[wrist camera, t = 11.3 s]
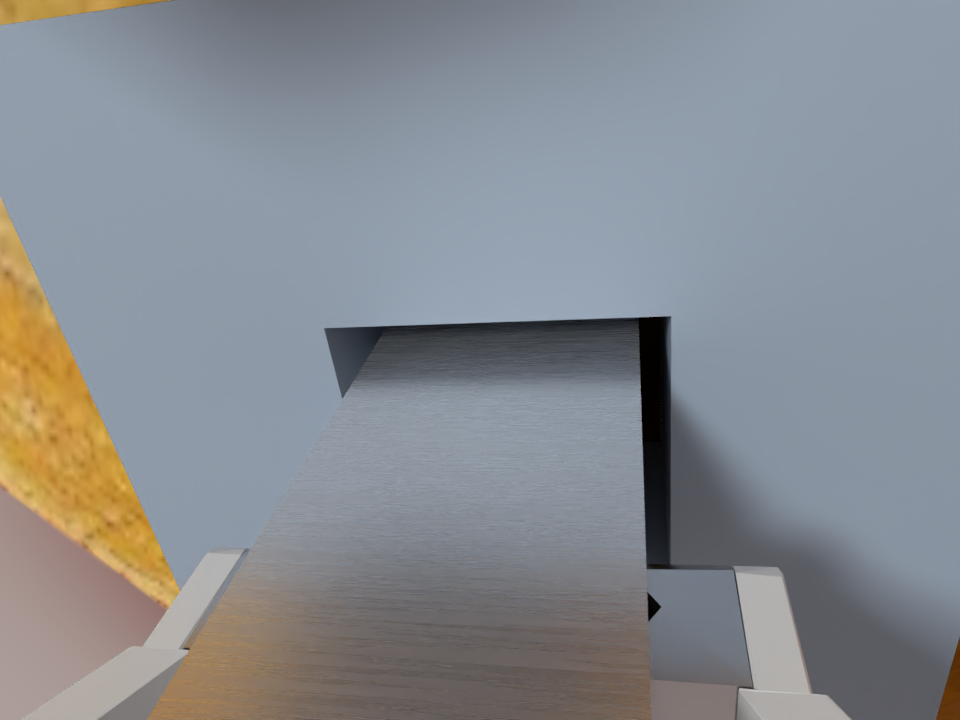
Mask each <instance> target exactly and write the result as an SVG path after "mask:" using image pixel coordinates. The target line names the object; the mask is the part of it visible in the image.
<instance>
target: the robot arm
mask: <svg viewBox="0 0 960 720" xmlns="http://www.w3.org/2000/svg"><path fill="white" fill-rule="evenodd" d="M250 550H251V549H248V548H232V547H216V548H214V549H213V550H211V551H210V552H208V553H207V554H206V555H205V556H204V558H203V559H202V560H201V562H200V563H199V565H198V566H197V568H196V569H195V571H194V572H193V574H192V575H191V576H190V578H189V579H188V581H187V582H186V584H185V585H184V587H183V588H182V590H181V591H180V592H179V594H178V595H177V597H176V598H175V600H174V601H173V603H172V604H171V606H170V607H169V609H168V610H167V611H166V613H165V614H164V616H163V617H162V619H161V620H160V622H159V623H158V625H157V626H156V627H155V629H154V630H153V632H152V633H151V635H150V636H149V638H148V639H147V641H146V642H145V644H144V645H143V646H131V647H130V648H128V649H127V650H125V651H123V652H122V653H120V654H119V655H117V656H116V657H115V658H113V659H111V660H110V661H108V662H107V663H105V664H104V665H102V666H101V667H99V668H98V669H96V670H95V671H93V672H92V673H90V674H89V675H87V676H86V677H84V678H83V679H81V680H80V681H79V682H77V683H75V684H74V685H72V686H71V687H69V688H68V689H66V690H64V691H63V692H61V693H60V694H59V695H57V696H55V697H54V698H52V699H51V700H49V701H48V702H46V703H45V704H43V705H42V706H40V707H39V708H37V709H36V710H34V711H33V712H31V713H30V714H28V715H27V716H25V717H24V718H22V719H21V720H147V719H148V717H149V715H150V714H151V712H152V710H153V709H154V707H155V705H156V704H157V702H158V700H159V699H160V697H161V696H162V694H163V692H164V691H165V689H166V687H167V686H168V684H169V682H170V681H171V679H172V678H173V676H174V674H175V673H176V671H177V669H178V668H179V666H180V664H181V663H182V661H183V660H184V658H185V656H186V655H187V653H188V651H189V650H190V648H191V646H192V645H193V643H194V642H195V640H196V638H197V637H198V635H199V633H200V632H201V630H202V628H203V627H204V625H205V623H206V622H207V620H208V619H209V617H210V615H211V614H212V612H213V610H214V609H215V607H216V605H217V604H218V602H219V601H220V599H221V597H222V596H223V594H224V592H225V591H226V589H227V587H228V586H229V584H230V583H231V581H232V579H233V578H234V576H235V574H236V573H237V571H238V569H239V568H240V566H241V565H242V563H243V561H244V560H245V558H246V556H247V555H248V553H249V551H250ZM646 570H647V601H648V633H649V664H650V695H651V720H852V719H851V718H850V717H849V716H848V715H847V714H846V713H845V712H844V711H843V710H842V709H841V708H840V707H839V706H838V705H837V704H836V703H835V702H834V701H833V700H832V699H831V698H830V697H829V696H828V695H823V694H813V693H812V689H811V685H810V681H809V677H808V672H807V668H806V664H805V660H804V656H803V652H802V648H801V644H800V640H799V636H798V632H797V628H796V624H795V620H794V616H793V612H792V608H791V604H790V600H789V596H788V592H787V588H786V583H785V579H784V575H783V573H782V572H781V571H780V569H779V568H778V567H757V566H733V567H732V568H731V566H720V565H682V564H646Z"/></svg>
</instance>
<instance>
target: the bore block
mask: <svg viewBox="0 0 960 720" xmlns="http://www.w3.org/2000/svg"><path fill="white" fill-rule="evenodd" d="M0 197H1V199H2V201H3V203H4V206H5V208H6V210H7V212H8V214H9V217H10V219H11V221H12V223H13V225H14V227H15V230H16V232H17V234H18V236H19V238H20V241H21V243H22V245H23V247H24V249H25V252H26V254H27V256H28V258H29V260H30V263H31V265H32V267H33V269H34V271H35V273H36V276H37V278H38V280H39V282H40V284H41V287H42V289H43V291H44V293H45V295H46V298H47V300H48V302H49V304H50V306H51V309H52V311H53V313H54V315H55V317H56V319H57V322H58V324H59V326H60V328H61V330H62V333H63V335H64V337H65V339H66V341H67V344H68V346H69V348H70V350H71V352H72V355H73V357H74V359H75V361H76V363H77V365H78V368H79V370H80V372H81V374H82V376H83V379H84V381H85V383H86V385H87V387H88V390H89V392H90V394H91V396H92V398H93V401H94V403H95V405H96V407H97V409H98V411H99V414H100V416H101V418H102V420H103V422H104V425H105V427H106V429H107V431H108V433H109V436H110V438H111V440H112V442H113V444H114V447H115V449H116V451H117V453H118V455H119V457H120V460H121V462H122V464H123V466H124V468H125V471H126V473H127V475H128V477H129V479H130V482H131V484H132V486H133V488H134V490H135V493H136V495H137V497H138V499H139V501H140V503H141V506H142V508H143V510H144V512H145V514H146V517H147V519H148V521H149V523H150V525H151V528H152V530H153V532H154V534H155V536H156V539H157V541H158V543H159V545H160V547H161V549H162V552H163V554H164V556H165V558H166V560H167V563H168V565H169V567H170V569H171V571H172V574H173V576H174V578H175V580H176V582H177V585H178V587H179V589H180V591H181V590H182V588H183V587H184V585H185V584H186V582H187V581H188V579H189V578H190V576H191V575H192V574H193V572H194V571H195V569H196V568H197V566H198V565H199V563H200V562H201V560H202V559H203V558H204V556H205V555H206V554H207V553H208V552H210V551H211V550H213V549H214V548H216V547H232V548H248V549H251V548H252V546H253V545H254V543H255V542H256V540H257V538H258V537H259V535H260V533H261V532H262V530H263V528H264V527H265V525H266V524H267V522H268V520H269V519H270V517H271V515H272V514H273V512H274V510H275V509H276V507H277V506H278V504H279V502H280V501H281V499H282V497H283V496H284V494H285V492H286V491H287V489H288V488H289V486H290V484H291V483H292V481H293V479H294V478H295V476H296V474H297V473H298V471H299V469H300V468H301V466H302V465H303V463H304V461H305V460H306V458H307V456H308V455H309V453H310V451H311V450H312V448H313V447H314V445H315V443H316V442H317V440H318V438H319V437H320V435H321V433H322V432H323V430H324V429H325V427H326V425H327V424H328V422H329V420H330V419H331V417H332V415H333V414H334V412H335V410H336V409H337V407H338V406H339V404H340V402H341V401H342V399H343V397H344V396H345V394H346V392H347V391H348V389H349V388H350V386H351V384H352V383H353V381H354V379H355V378H356V376H357V374H358V373H359V371H360V370H361V368H362V366H363V365H364V363H365V361H366V360H367V358H368V356H369V355H370V353H371V352H372V350H373V348H374V347H375V345H376V343H377V342H378V340H379V338H380V337H381V335H382V333H383V332H384V330H385V329H386V327H387V326H403V325H432V324H461V323H489V322H518V321H547V320H576V319H605V318H634V317H660V382H661V441H642V445H643V476H644V507H645V539H646V564H682V565H720V566H731V568H732V567H733V566H757V567H778V568H779V569H780V571H781V572H782V573H783V575H784V579H785V583H786V588H787V592H788V596H789V600H790V604H791V608H792V612H793V616H794V620H795V624H796V628H797V632H798V636H799V640H800V644H801V648H802V652H803V656H804V660H805V664H806V668H807V672H808V677H809V681H810V685H811V689H812V693H813V694H823V695H828V696H829V697H830V698H831V699H832V700H833V701H834V702H835V703H836V704H837V705H838V706H839V707H840V708H841V709H842V710H843V711H844V712H845V713H846V714H847V715H848V716H849V717H850V718H851V719H852V720H936V717H937V714H938V710H939V707H940V703H941V700H942V697H943V693H944V690H945V686H946V683H947V679H948V676H949V672H950V669H951V665H952V662H953V658H954V655H955V651H956V648H957V644H958V641H959V637H960V0H171V1H164V2H157V3H150V4H143V5H136V6H129V7H122V8H116V9H109V10H102V11H95V12H88V13H81V14H74V15H67V16H61V17H54V18H47V19H40V20H33V21H26V22H19V23H12V24H6V25H0Z"/></svg>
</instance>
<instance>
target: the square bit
mask: <svg viewBox="0 0 960 720" xmlns="http://www.w3.org/2000/svg"><path fill="white" fill-rule="evenodd" d="M147 720H651V695H650V664H649V633H648V601H647V570H646V539H645V507H644V476H643V445H642V413H641V382H640V351H639V319H638V317H634V318H605V319H576V320H547V321H518V322H489V323H461V324H432V325H403V326H387V327H386V329H385V330H384V332H383V333H382V335H381V337H380V338H379V340H378V342H377V343H376V345H375V347H374V348H373V350H372V352H371V353H370V355H369V356H368V358H367V360H366V361H365V363H364V365H363V366H362V368H361V370H360V371H359V373H358V374H357V376H356V378H355V379H354V381H353V383H352V384H351V386H350V388H349V389H348V391H347V392H346V394H345V396H344V397H343V399H342V401H341V402H340V404H339V406H338V407H337V409H336V410H335V412H334V414H333V415H332V417H331V419H330V420H329V422H328V424H327V425H326V427H325V429H324V430H323V432H322V433H321V435H320V437H319V438H318V440H317V442H316V443H315V445H314V447H313V448H312V450H311V451H310V453H309V455H308V456H307V458H306V460H305V461H304V463H303V465H302V466H301V468H300V469H299V471H298V473H297V474H296V476H295V478H294V479H293V481H292V483H291V484H290V486H289V488H288V489H287V491H286V492H285V494H284V496H283V497H282V499H281V501H280V502H279V504H278V506H277V507H276V509H275V510H274V512H273V514H272V515H271V517H270V519H269V520H268V522H267V524H266V525H265V527H264V528H263V530H262V532H261V533H260V535H259V537H258V538H257V540H256V542H255V543H254V545H253V546H252V548H251V550H250V551H249V553H248V555H247V556H246V558H245V560H244V561H243V563H242V565H241V566H240V568H239V569H238V571H237V573H236V574H235V576H234V578H233V579H232V581H231V583H230V584H229V586H228V587H227V589H226V591H225V592H224V594H223V596H222V597H221V599H220V601H219V602H218V604H217V605H216V607H215V609H214V610H213V612H212V614H211V615H210V617H209V619H208V620H207V622H206V623H205V625H204V627H203V628H202V630H201V632H200V633H199V635H198V637H197V638H196V640H195V642H194V643H193V645H192V646H191V648H190V650H189V651H188V653H187V655H186V656H185V658H184V660H183V661H182V663H181V664H180V666H179V668H178V669H177V671H176V673H175V674H174V676H173V678H172V679H171V681H170V682H169V684H168V686H167V687H166V689H165V691H164V692H163V694H162V696H161V697H160V699H159V700H158V702H157V704H156V705H155V707H154V709H153V710H152V712H151V714H150V715H149V717H148V719H147Z"/></svg>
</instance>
